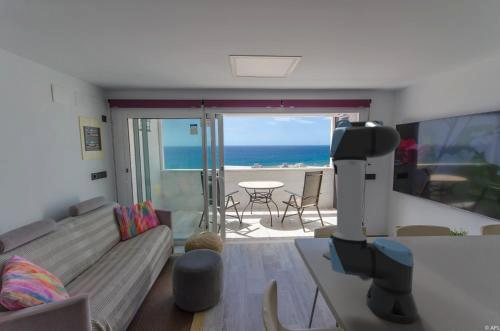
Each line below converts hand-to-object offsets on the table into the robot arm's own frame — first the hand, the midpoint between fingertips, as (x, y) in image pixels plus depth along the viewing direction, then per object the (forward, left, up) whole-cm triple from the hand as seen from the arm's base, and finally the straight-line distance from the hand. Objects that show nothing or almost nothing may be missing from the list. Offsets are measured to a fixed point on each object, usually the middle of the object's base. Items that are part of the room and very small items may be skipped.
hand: (341, 186), depth 134 cm
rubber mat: (-15, -19, -32) cm, 40 cm away
